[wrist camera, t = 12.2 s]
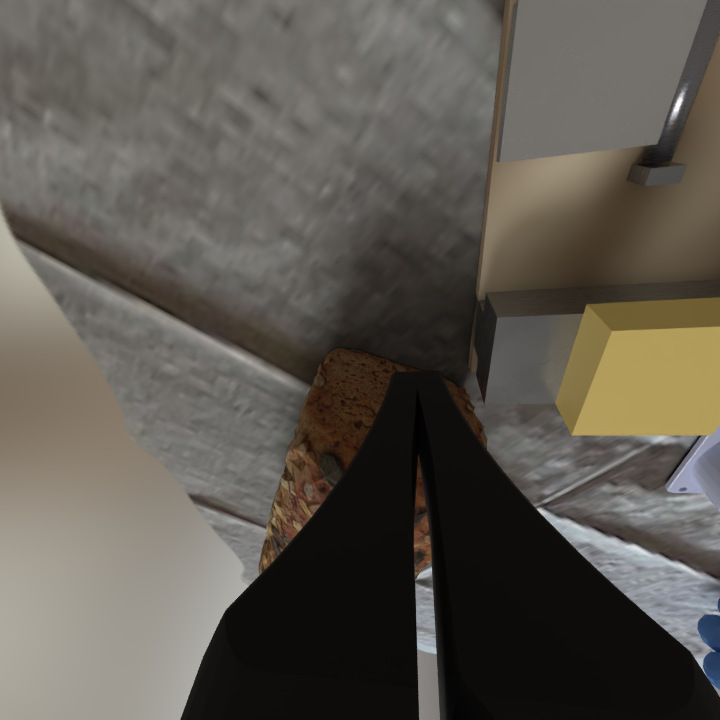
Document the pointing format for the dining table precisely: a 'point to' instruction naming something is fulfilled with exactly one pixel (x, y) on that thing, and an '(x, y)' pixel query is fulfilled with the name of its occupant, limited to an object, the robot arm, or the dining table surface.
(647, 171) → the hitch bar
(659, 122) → the plate
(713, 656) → the grapes
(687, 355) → the pale yellow block
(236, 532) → the dining table surface
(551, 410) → the dining table surface
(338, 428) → the bread
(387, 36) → the dining table surface
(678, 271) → the base board
